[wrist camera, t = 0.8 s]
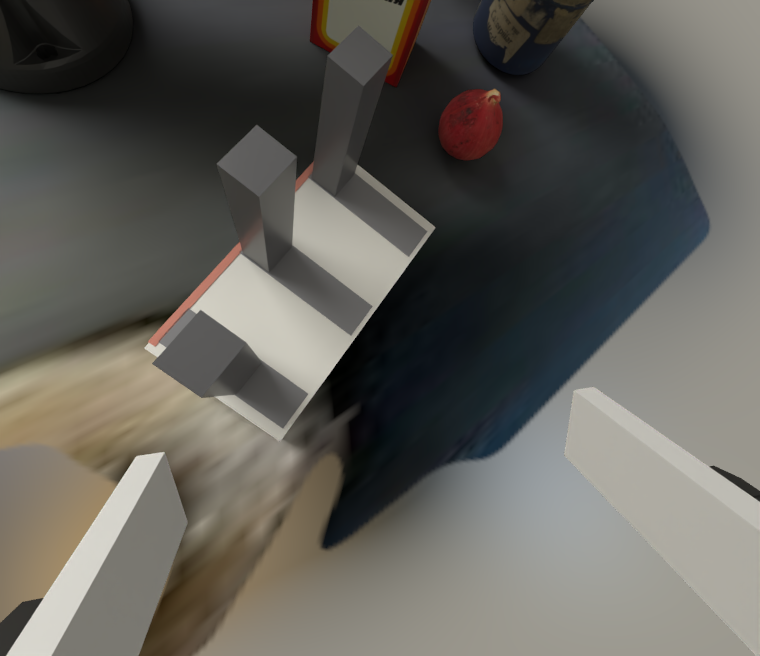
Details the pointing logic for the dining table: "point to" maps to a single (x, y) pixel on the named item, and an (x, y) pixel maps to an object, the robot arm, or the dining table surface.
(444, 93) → the dining table surface
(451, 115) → the pomegranate
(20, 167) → the dining table surface
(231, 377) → the block
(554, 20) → the dark blue cylinder
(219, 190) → the dining table surface
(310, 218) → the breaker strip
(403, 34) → the baking soda box
